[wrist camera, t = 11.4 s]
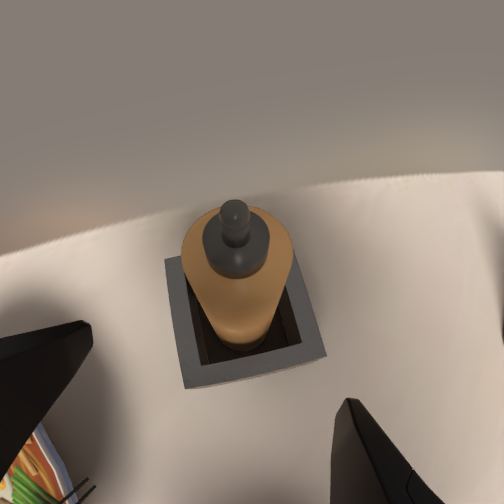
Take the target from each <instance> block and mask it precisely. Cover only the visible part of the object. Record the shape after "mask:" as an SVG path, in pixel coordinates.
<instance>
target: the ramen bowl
mask: <svg viewBox="0 0 504 504" xmlns="http://www.w3.org/2000/svg"><path fill="white" fill-rule="evenodd" d="M88 480H89V478H88V477H87V478H86V479H85V480H84V481H82V482H81V483H80V484H79V485H78V486H77V487H76V488H75V489H74V488H73V485H72V483H71V480H70V477H69V475H68V472H67V469H66V466H65V464H64V462H63V461H62V459H61V458H60V456H59V454H58V453H57V451H56V449H55V447H54V446H53V444H52V442H51V440H50V439H49V437H48V435H47V433H46V431H45V429H44V427H43V425H42V424H41V422H40V423H39V425H38V426H37V427H36V429H35V430H34V432H33V433H32V435H31V436H30V437H29V439H28V440H27V442H26V443H25V445H24V446H23V448H22V449H21V451H20V453H19V454H18V456H17V457H16V459H15V460H14V462H13V463H12V465H11V466H10V468H9V470H8V471H7V473H6V474H5V476H4V478H3V479H2V481H1V483H0V504H80V503H81V502H82V501H83V500H84V499H85V498H86V497H87V496H88V495H89V494H90V493H91V492H92V491H93V490H94V489H95V488H96V486H95V485H94V486H93V487H92V488H91V489H90V490H89V491H88V492H87V493H86V494H85V495H84V496H83V497H82V498H81V499H80V500H78V498H77V495H76V493H75V492H76V491H77V490H78V489H79V488H80V487H81V486H83V485H84V484H85V483H86V482H87V481H88Z"/></svg>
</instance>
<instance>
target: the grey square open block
mask: <svg viewBox="0 0 504 504" xmlns="http://www.w3.org/2000/svg"><path fill="white" fill-rule="evenodd" d="M292 248H293V247H292ZM164 260H165V269H166V278H167V286H168V293H169V301H170V308H171V315H172V321H173V328H174V334H175V340H176V345H177V351H178V356H179V362H180V367H181V372H182V377H183V382H184V387H185V389H200V388H206V387H212V386H217V385H223V384H228V383H233V382H238V381H242V380H247V379H251V378H256V377H260V376H264V375H268V374H272V373H276V372H280V371H284V370H288V369H291V368H295V367H299V366H302V365H306V364H309V363H312V362H314V361H317V360H319V359H321V358H324V357H326V356H327V355H326V351H325V348H324V345H323V341H322V338H321V335H320V331H319V328H318V325H317V322H316V318H315V315H314V312H313V309H312V305H311V302H310V299H309V296H308V293H307V290H306V287H305V283H304V280H303V277H302V274H301V271H300V268H299V265H298V262H297V259H296V256H295V253H294V250H293V260H292V266H291V269H290V272H289V274H288V277H287V280H286V283H285V286H284V289H283V292H282V294H281V297H280V300H279V303H278V308H279V311H280V315H281V318H282V322H283V325H284V329H285V333H286V336H287V340H288V343H289V347H285V348H281V349H277V350H273V351H269V352H265V353H261V354H257V355H252V356H248V357H243V358H239V359H234V360H229V361H224V362H219V363H214V364H209V361H208V357H207V352H206V347H205V342H204V337H203V332H202V327H201V322H200V316H199V311H198V305H197V300H196V295H195V293H194V291H193V289H192V287H191V285H190V283H189V281H188V279H187V277H186V275H185V272H184V269H183V266H182V260H181V256H177V257H172V258H168V259H164Z"/></svg>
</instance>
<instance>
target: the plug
mask: <svg viewBox="0 0 504 504" xmlns="http://www.w3.org/2000/svg"><path fill="white" fill-rule="evenodd" d="M181 260H182V266H183V269H184V272H185V275H186V277H187V279H188V281H189V283H190V285H191V287H192V289H193V291H194V293H195V295H196V296H197V298H198V300H199V302H200V304H201V306H202V308H203V310H204V312H205V314H206V316H207V318H208V319H209V321H210V323H211V325H212V327H213V329H214V331H215V332H216V334H217V336H218V338H219V339H220V341H221V342H222V343H223V344H224V345H225V346H227V347H229V348H231V349H233V350H237V351H247V350H251V349H253V348H255V347H257V346H258V345H260V344H261V343H262V342H263V340H264V339H265V337H266V335H267V333H268V330H269V327H270V325H271V322H272V319H273V316H274V314H275V311H276V308H277V305H278V303H279V300H280V297H281V294H282V292H283V289H284V286H285V283H286V280H287V277H288V274H289V272H290V269H291V266H292V260H293V248H292V243H291V239H290V237H289V234H288V233H287V231H286V229H285V228H284V226H283V225H282V224H281V223H280V222H279V221H278V220H277V219H276V218H275V217H274V216H272V215H271V214H269V213H267V212H266V211H264V210H261V209H259V208H256V207H252V206H247V205H246V204H245V203H244V202H242V201H240V200H229V201H227V202H226V203H224V204H223V205H222V207H220V208H217V209H214V210H212V211H210V212H208V213H206V214H205V215H203V216H202V217H201V218H199V219H198V220H197V221H196V222H195V223H194V224H193V225H192V227H191V228H190V229H189V231H188V232H187V234H186V236H185V239H184V241H183V245H182V251H181Z"/></svg>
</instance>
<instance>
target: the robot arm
mask: <svg viewBox="0 0 504 504" xmlns="http://www.w3.org/2000/svg"><path fill="white" fill-rule="evenodd" d="M92 346H93V336H92V328H91V325H90V324H89V323H87V322H85V321H83V320H79V321H74V322H70V323H66V324H62V325H57V326H53V327H49V328H44V329H40V330H36V331H31V332H27V333H22V334H18V335H13V336H8V337H4V338H2V339H1V338H0V483H1V481H2V479H3V478H4V476H5V474H6V473H7V471H8V470H9V468H10V466H11V465H12V463H13V462H14V460H15V459H16V457H17V456H18V454H19V453H20V451H21V449H22V448H23V446H24V445H25V443H26V442H27V440H28V439H29V437H30V436H31V435H32V433H33V432H34V430H35V429H36V427H37V426H38V425H39V423H40V422H41V420H42V419H43V417H44V416H45V415H46V413H47V412H48V411H49V409H50V408H51V406H52V405H53V404H54V402H55V401H56V400H57V398H58V397H59V396H60V394H61V393H62V392H63V390H64V389H65V388H66V386H67V385H68V384H69V383H70V381H71V380H72V378H73V377H74V376H75V374H76V373H77V371H78V369H79V368H80V366H81V364H82V363H83V361H84V359H85V358H86V356H87V355H88V353H89V352H90V350H91V348H92ZM330 504H445V503H444V502H443V501H442V500H441V499H440V498H439V497H438V496H437V495H436V494H435V493H434V492H433V491H432V490H431V489H430V488H429V487H428V486H427V485H426V484H425V482H424V481H423V480H422V479H421V478H420V476H419V475H418V474H417V473H416V471H415V470H414V469H413V470H412V467H411V465H410V464H409V463H408V461H407V460H406V459H405V458H404V456H403V455H402V454H401V453H400V451H399V450H398V449H397V448H396V446H395V445H394V444H393V442H392V441H391V440H390V439H389V437H388V436H387V435H386V434H385V432H384V431H383V430H382V429H381V427H380V426H379V425H378V423H377V422H376V421H375V420H374V418H373V417H372V416H371V414H370V413H369V412H368V411H367V409H366V408H365V407H364V406H363V404H362V403H361V402H360V400H358V399H354V398H346V399H345V400H344V402H343V404H342V405H341V407H340V409H339V410H338V412H337V414H336V417H335V425H334V434H333V443H332V452H331V487H330Z"/></svg>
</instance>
